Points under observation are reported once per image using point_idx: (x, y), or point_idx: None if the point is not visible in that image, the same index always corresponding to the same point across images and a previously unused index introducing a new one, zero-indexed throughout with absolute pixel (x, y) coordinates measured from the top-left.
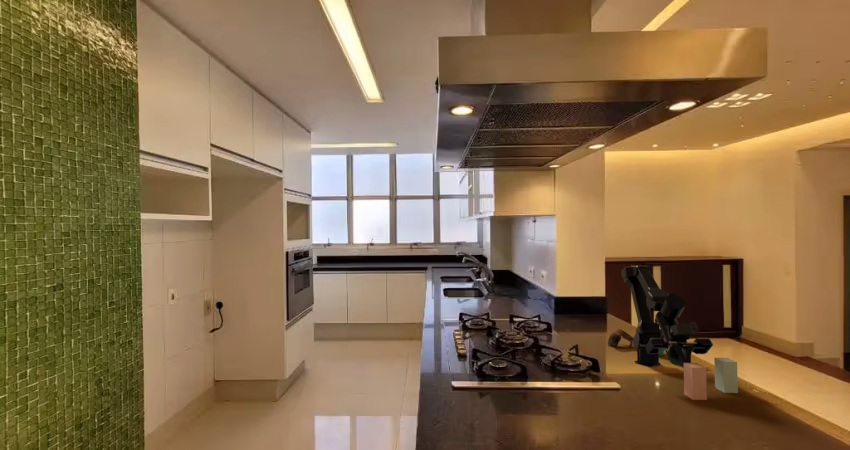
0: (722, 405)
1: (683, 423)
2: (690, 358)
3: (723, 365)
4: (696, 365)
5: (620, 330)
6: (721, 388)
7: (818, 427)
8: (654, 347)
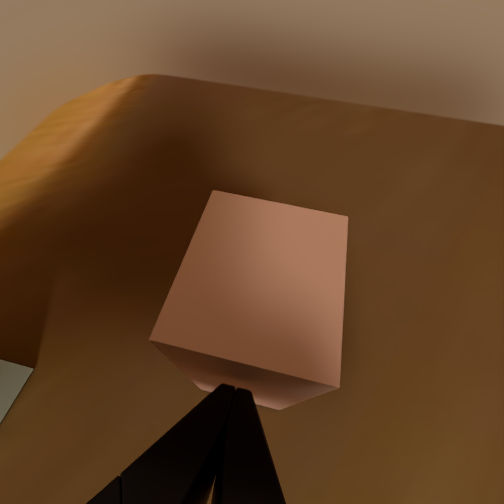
0: None
1: (448, 180)
2: (119, 483)
3: None
4: (252, 253)
5: None
6: (2, 396)
7: (102, 106)
8: None
